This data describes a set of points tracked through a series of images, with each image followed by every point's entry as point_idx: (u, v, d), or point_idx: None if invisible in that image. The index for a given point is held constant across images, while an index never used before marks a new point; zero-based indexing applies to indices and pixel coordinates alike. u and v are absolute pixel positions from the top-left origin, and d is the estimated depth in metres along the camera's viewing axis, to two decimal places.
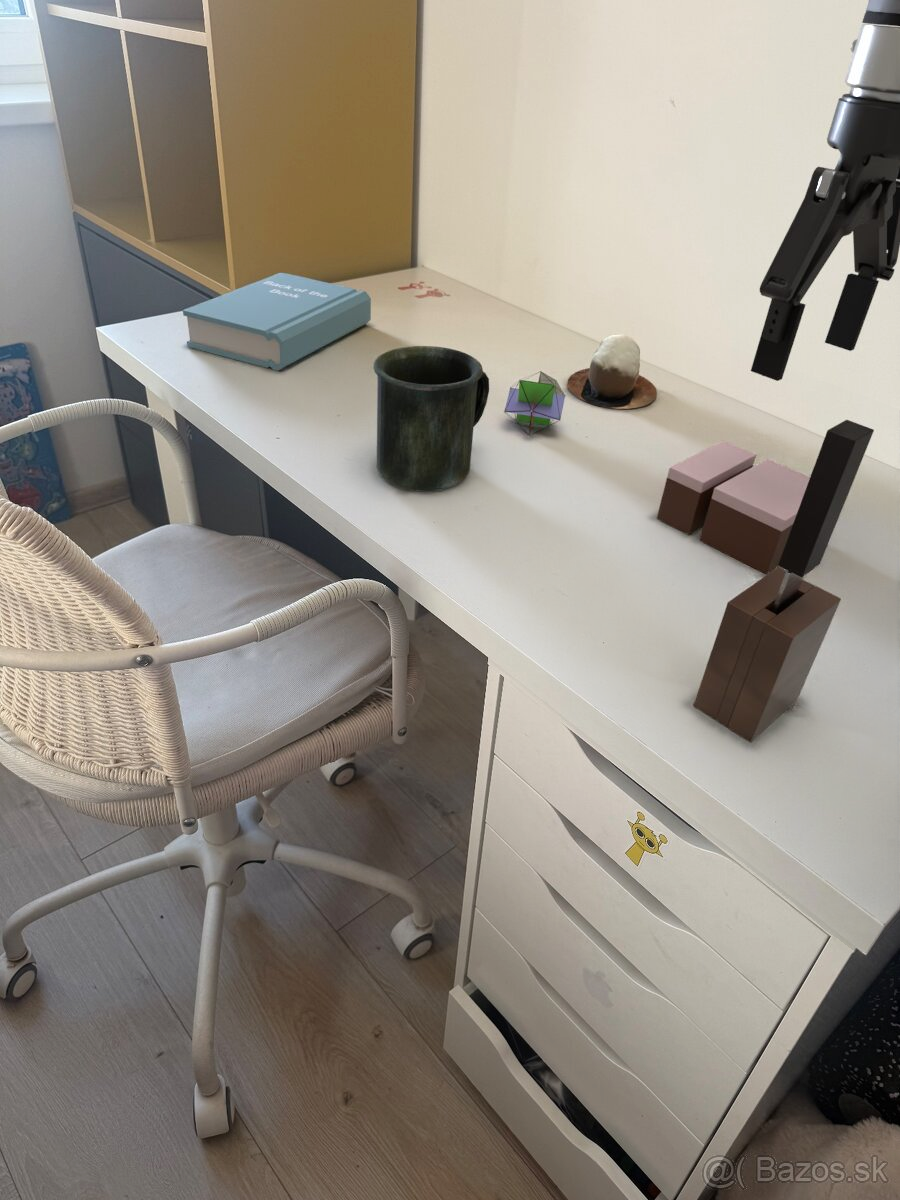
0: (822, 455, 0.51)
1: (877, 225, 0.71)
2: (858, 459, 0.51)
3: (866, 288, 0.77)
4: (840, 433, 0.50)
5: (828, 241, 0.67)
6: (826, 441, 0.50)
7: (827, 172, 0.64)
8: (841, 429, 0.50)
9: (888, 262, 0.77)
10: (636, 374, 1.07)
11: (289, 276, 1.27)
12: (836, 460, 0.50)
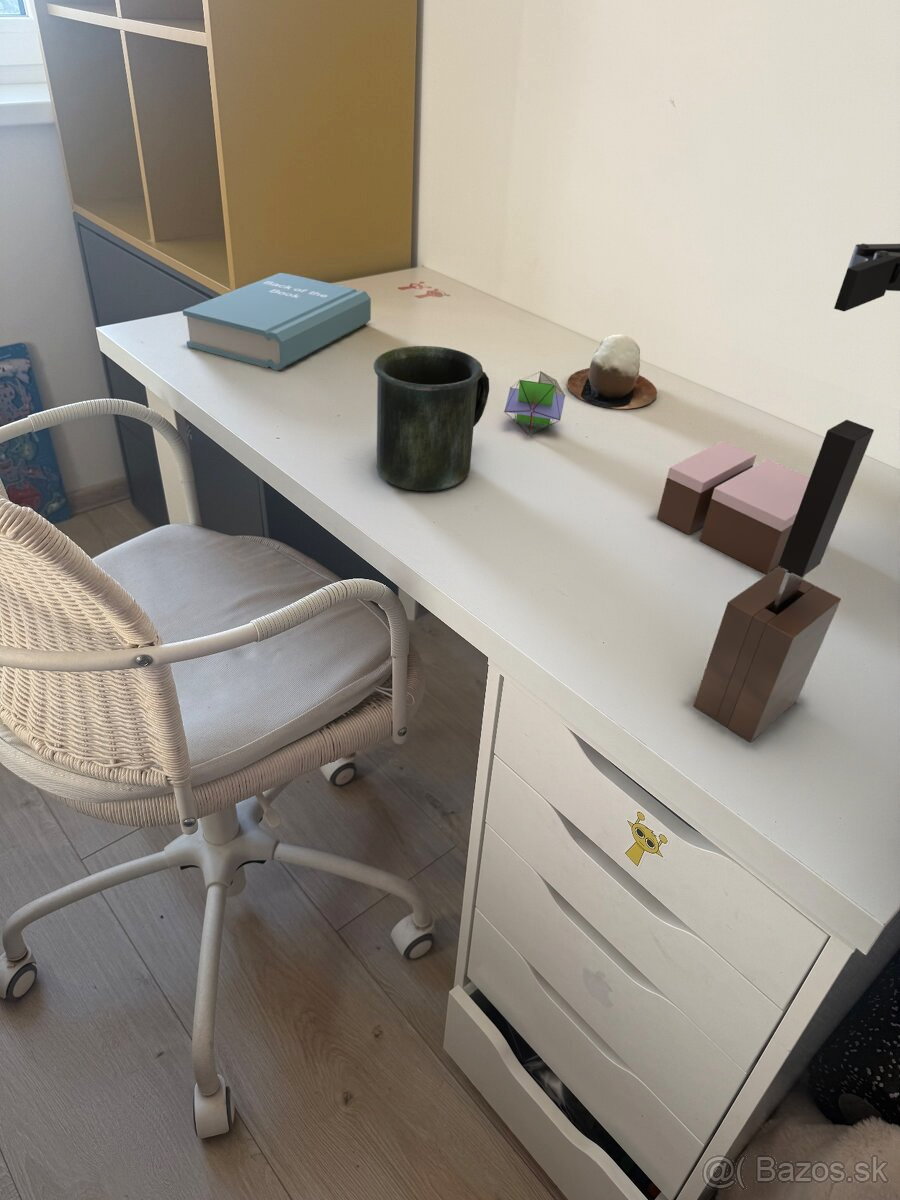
0: (822, 455, 0.51)
1: None
2: (858, 459, 0.51)
3: None
4: (840, 433, 0.50)
5: None
6: (826, 441, 0.50)
7: None
8: (841, 429, 0.50)
9: None
10: (636, 374, 1.07)
11: (289, 276, 1.27)
12: (836, 460, 0.50)
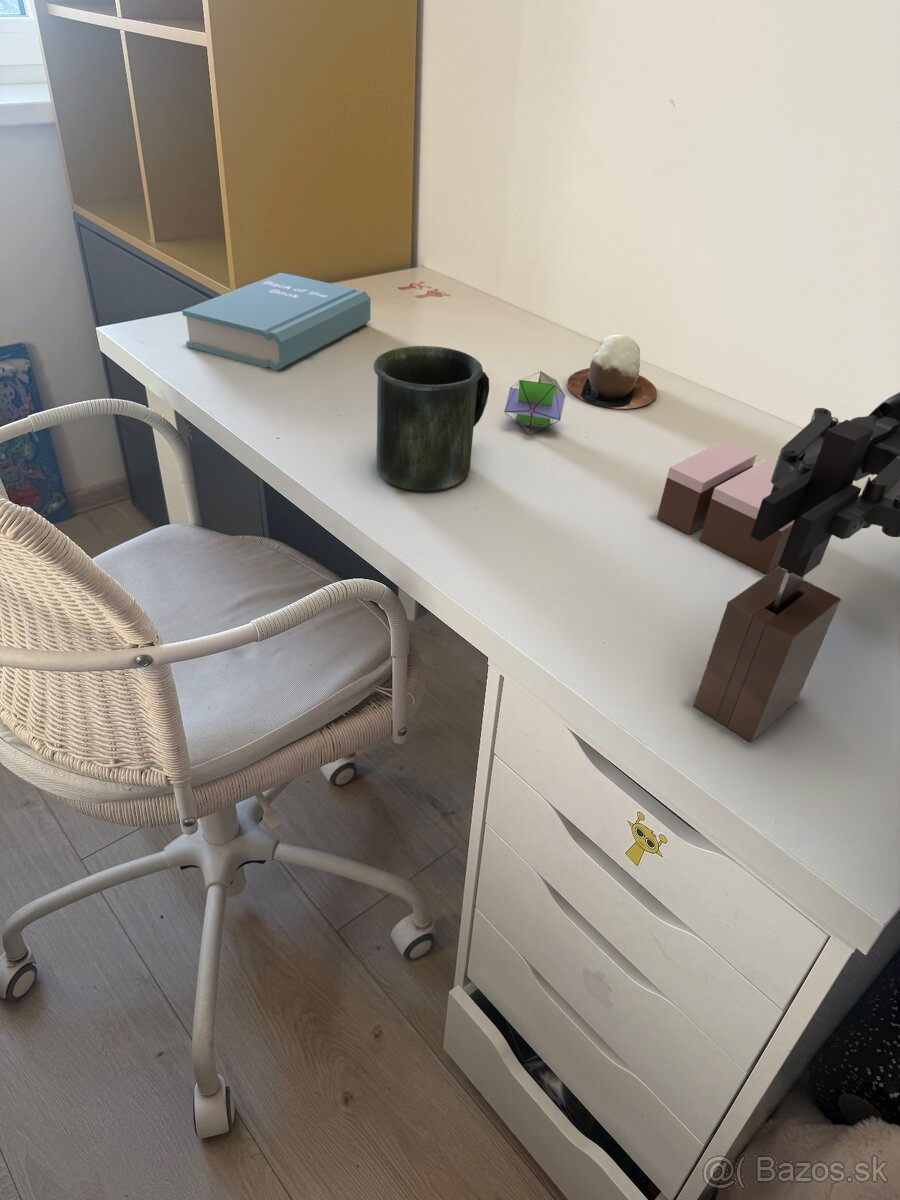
0: (822, 455, 0.51)
1: (896, 457, 0.57)
2: (858, 459, 0.51)
3: None
4: (840, 433, 0.50)
5: None
6: (826, 441, 0.50)
7: None
8: (841, 429, 0.50)
9: None
10: (636, 374, 1.07)
11: (289, 276, 1.27)
12: (836, 460, 0.50)
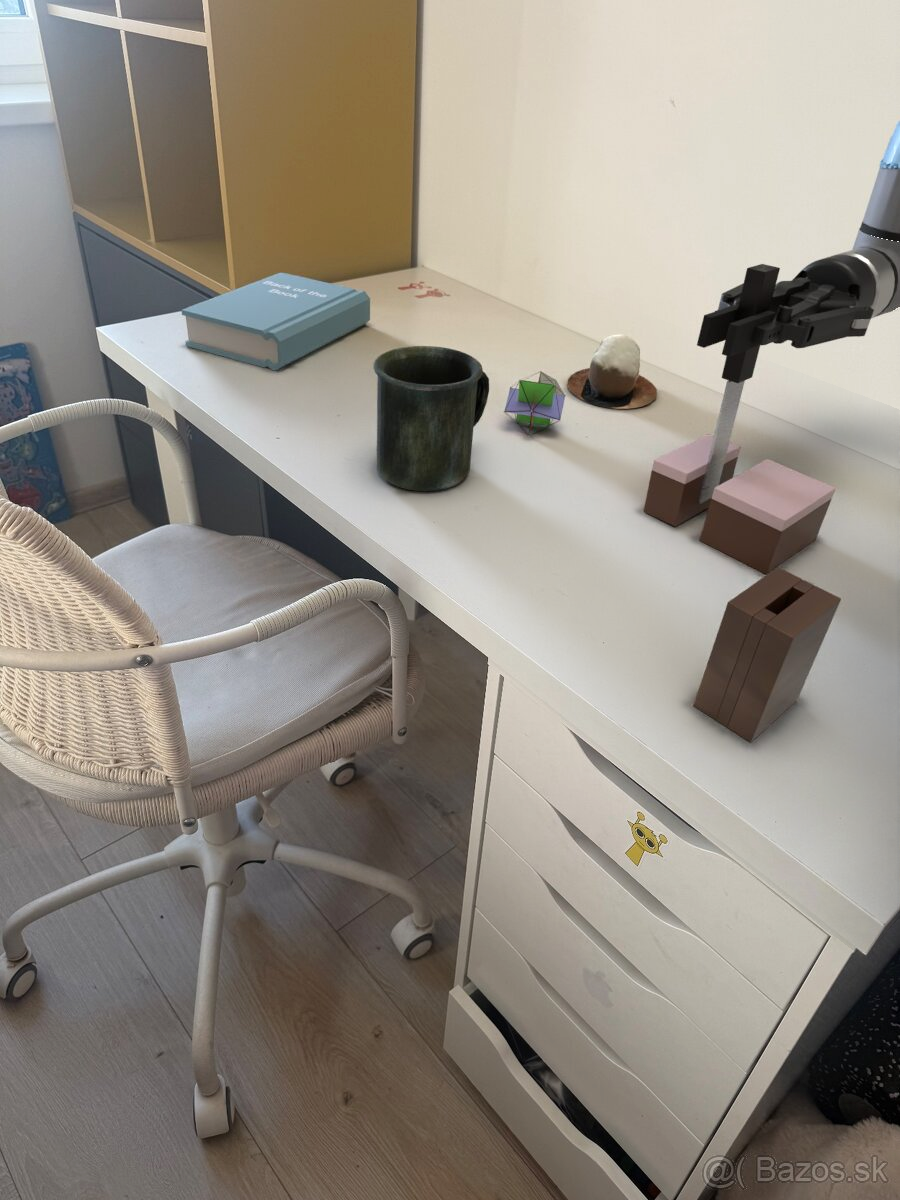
0: (745, 287, 0.73)
1: (805, 300, 0.79)
2: (770, 290, 0.74)
3: None
4: (755, 269, 0.72)
5: None
6: (746, 276, 0.73)
7: None
8: (756, 267, 0.73)
9: None
10: (636, 374, 1.07)
11: (289, 276, 1.27)
12: (754, 289, 0.73)
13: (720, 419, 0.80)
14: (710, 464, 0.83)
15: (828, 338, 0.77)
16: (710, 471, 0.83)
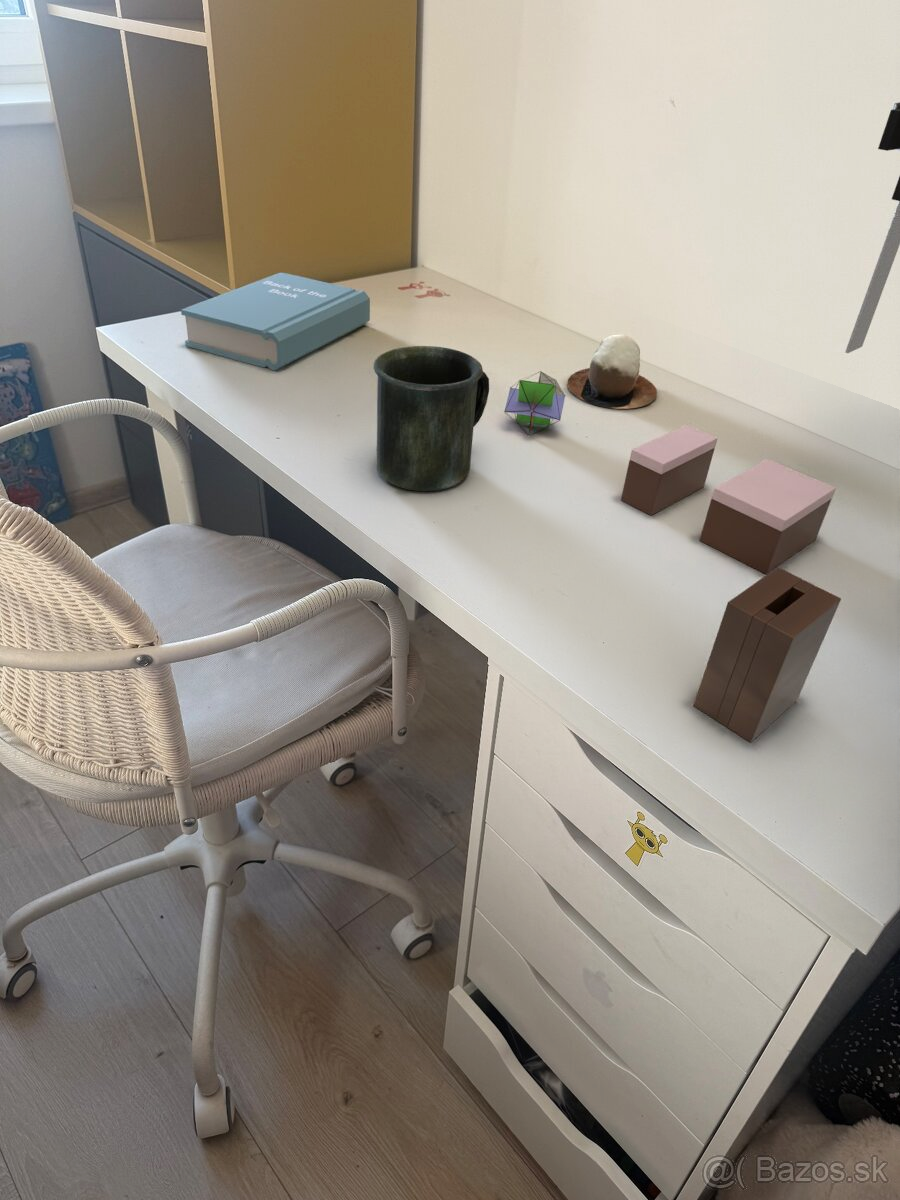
0: None
1: None
2: None
3: None
4: None
5: None
6: None
7: None
8: None
9: None
10: (636, 374, 1.07)
11: (289, 276, 1.27)
12: None
13: (884, 249, 0.72)
14: (865, 305, 0.75)
15: None
16: (863, 314, 0.75)
